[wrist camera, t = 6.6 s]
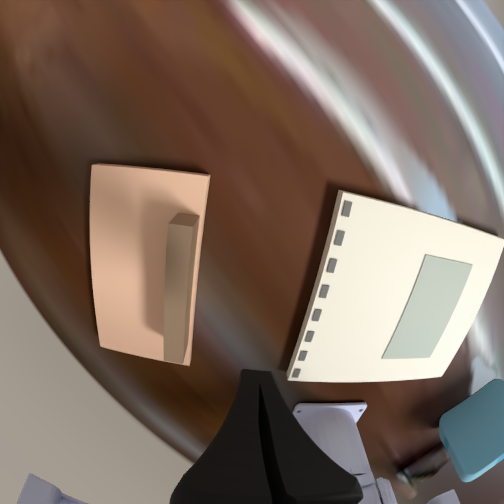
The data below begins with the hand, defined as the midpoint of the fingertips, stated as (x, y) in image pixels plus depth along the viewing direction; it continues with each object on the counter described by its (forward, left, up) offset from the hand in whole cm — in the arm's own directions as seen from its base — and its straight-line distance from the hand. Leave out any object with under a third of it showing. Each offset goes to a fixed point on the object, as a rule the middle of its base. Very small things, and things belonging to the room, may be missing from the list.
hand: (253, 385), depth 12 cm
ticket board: (0, -14, -9) cm, 16 cm away
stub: (0, +8, -9) cm, 12 cm away
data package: (-16, -36, -10) cm, 40 cm away
